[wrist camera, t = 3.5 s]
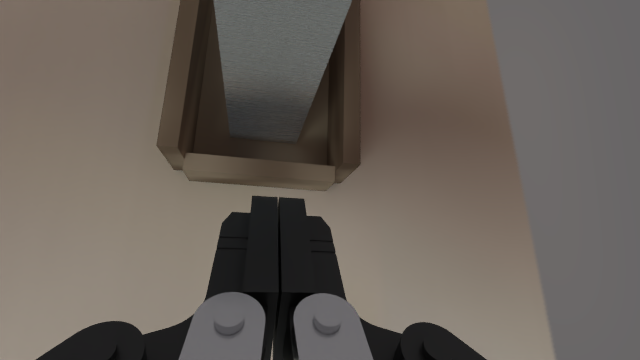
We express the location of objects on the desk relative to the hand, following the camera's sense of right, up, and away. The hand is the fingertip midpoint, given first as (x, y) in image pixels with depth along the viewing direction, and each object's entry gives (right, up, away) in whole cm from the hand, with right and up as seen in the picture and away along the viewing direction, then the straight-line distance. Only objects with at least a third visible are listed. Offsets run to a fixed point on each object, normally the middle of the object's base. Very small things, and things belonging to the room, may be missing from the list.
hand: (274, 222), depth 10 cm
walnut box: (-2, +8, +9) cm, 12 cm away
